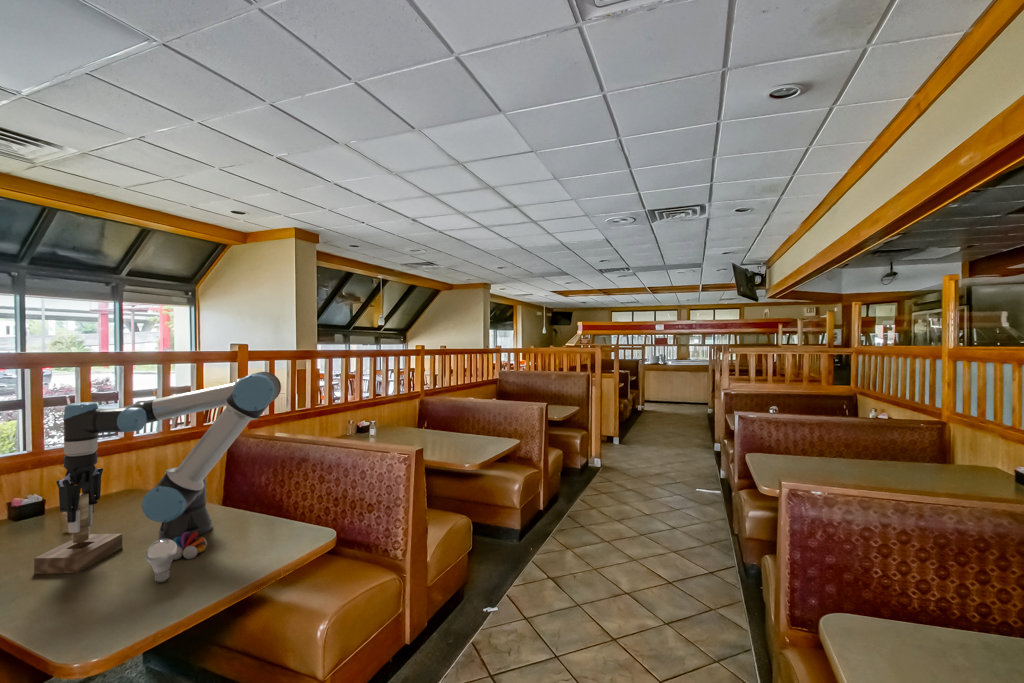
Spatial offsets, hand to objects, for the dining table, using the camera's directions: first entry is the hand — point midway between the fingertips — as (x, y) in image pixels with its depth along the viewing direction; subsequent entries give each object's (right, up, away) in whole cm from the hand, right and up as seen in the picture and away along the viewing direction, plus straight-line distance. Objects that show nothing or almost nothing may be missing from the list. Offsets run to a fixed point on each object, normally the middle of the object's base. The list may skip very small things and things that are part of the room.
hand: (80, 528), depth 139 cm
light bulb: (+35, -10, -12) cm, 38 cm away
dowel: (0, -4, 0) cm, 4 cm away
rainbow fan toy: (+30, -10, +4) cm, 32 cm away
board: (0, -10, 0) cm, 10 cm away
